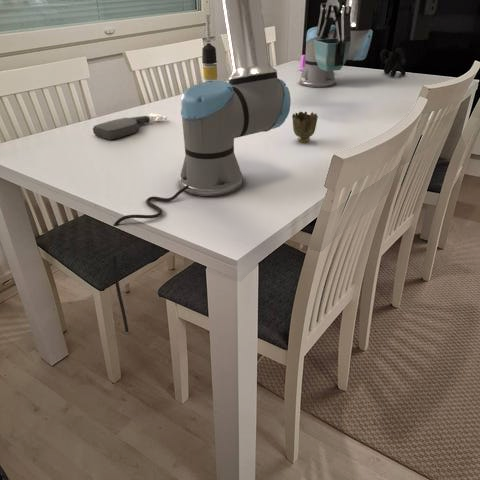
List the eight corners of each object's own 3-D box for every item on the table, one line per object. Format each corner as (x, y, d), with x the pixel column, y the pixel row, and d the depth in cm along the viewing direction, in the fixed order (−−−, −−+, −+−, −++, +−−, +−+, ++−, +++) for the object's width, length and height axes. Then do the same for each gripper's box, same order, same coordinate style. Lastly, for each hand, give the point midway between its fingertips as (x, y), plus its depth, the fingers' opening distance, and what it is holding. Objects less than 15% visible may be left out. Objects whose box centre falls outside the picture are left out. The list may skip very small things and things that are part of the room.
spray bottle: (91, 134, 143) (149, 117, 159) (112, 141, 137) (170, 123, 153) (89, 125, 142) (148, 109, 158) (110, 132, 136) (170, 114, 152)
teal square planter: (348, 71, 145) (351, 41, 141) (325, 73, 143) (327, 43, 138) (334, 66, 152) (336, 37, 148) (311, 68, 150) (313, 39, 145)
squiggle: (394, 87, 211) (371, 67, 214) (410, 72, 211) (386, 52, 214) (398, 76, 200) (374, 55, 203) (415, 59, 199) (390, 39, 202)
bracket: (309, 71, 219) (310, 56, 215) (300, 70, 222) (300, 55, 218) (322, 66, 228) (323, 52, 224) (312, 65, 231) (313, 51, 227)
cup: (287, 143, 133) (288, 116, 129) (296, 135, 139) (297, 110, 135) (310, 147, 130) (312, 119, 126) (319, 139, 136) (321, 113, 132)
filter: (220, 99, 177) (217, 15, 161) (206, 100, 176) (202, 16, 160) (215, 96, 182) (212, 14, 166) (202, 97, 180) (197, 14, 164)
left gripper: (515, -158, 51) (468, 42, 62) (378, -123, 71) (361, 24, 82) (465, -162, 49) (425, 46, 60) (338, -125, 68) (326, 27, 80)
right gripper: (369, -16, 127) (359, 67, 139) (329, -19, 144) (323, 56, 156) (347, -15, 125) (339, 70, 137) (308, -18, 142) (304, 58, 154)
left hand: (388, 34), depth 71 cm, fingers open, 13 cm apart
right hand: (330, 62), depth 146 cm, fingers closed on teal square planter, 9 cm apart
